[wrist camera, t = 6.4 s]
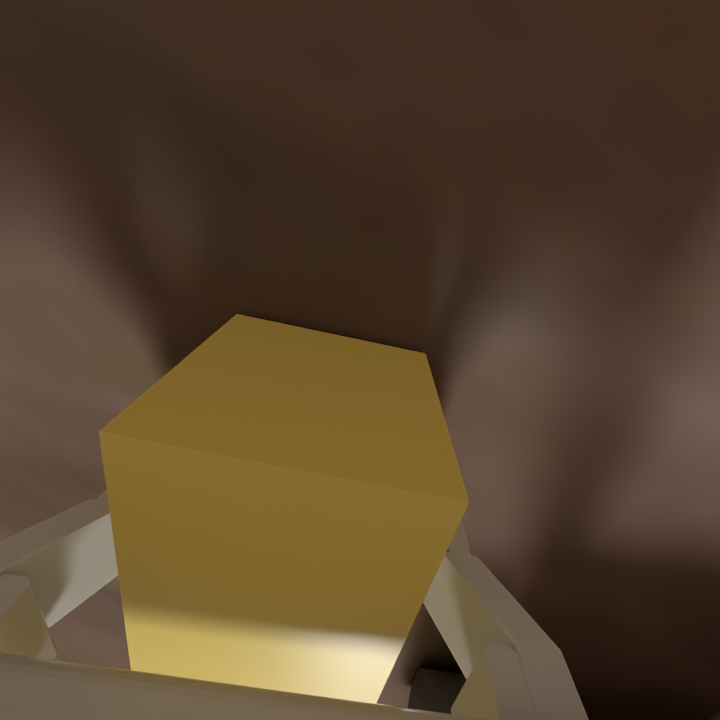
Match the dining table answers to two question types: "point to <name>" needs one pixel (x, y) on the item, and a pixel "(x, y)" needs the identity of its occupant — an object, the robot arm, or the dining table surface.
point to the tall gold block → (281, 509)
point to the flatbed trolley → (435, 690)
